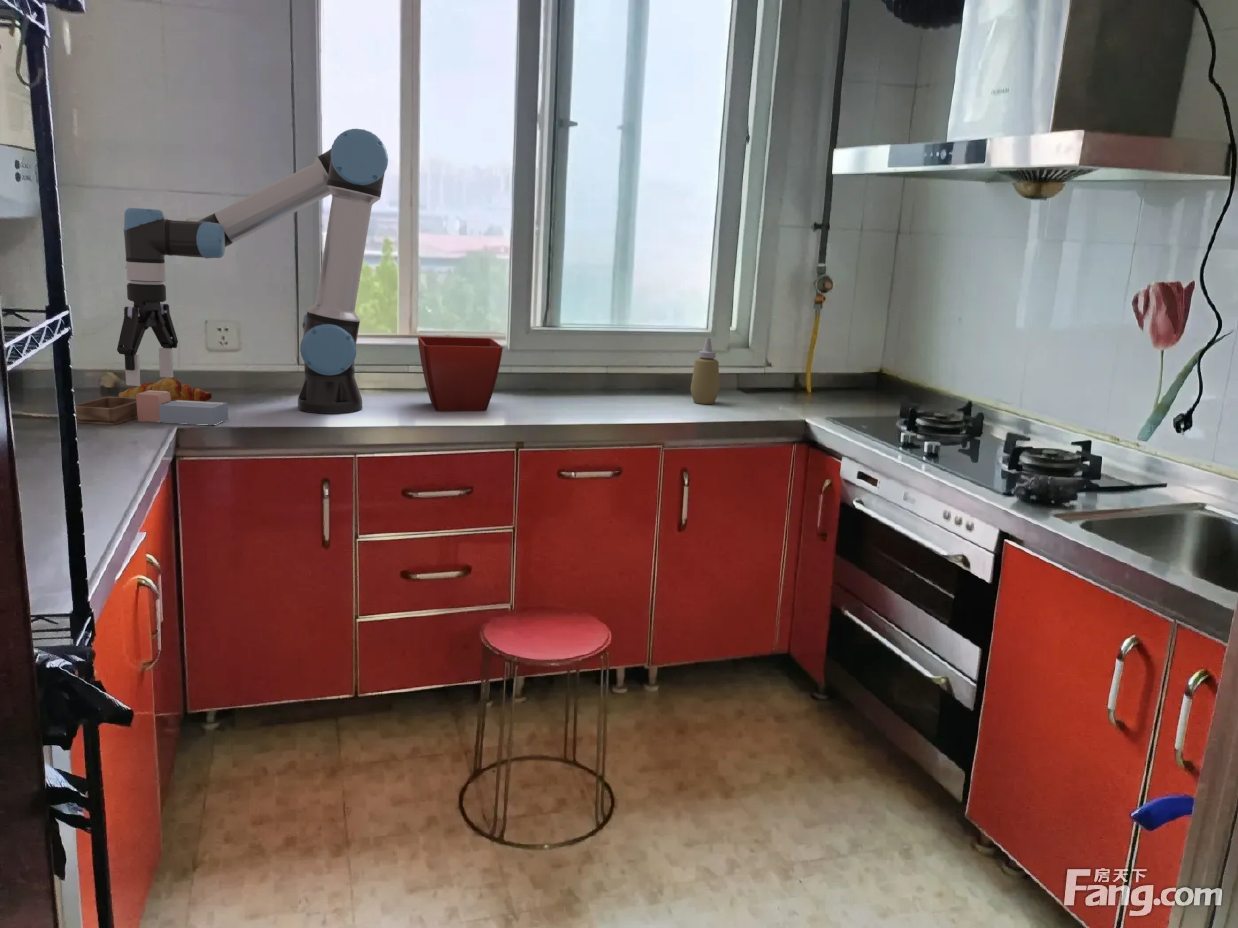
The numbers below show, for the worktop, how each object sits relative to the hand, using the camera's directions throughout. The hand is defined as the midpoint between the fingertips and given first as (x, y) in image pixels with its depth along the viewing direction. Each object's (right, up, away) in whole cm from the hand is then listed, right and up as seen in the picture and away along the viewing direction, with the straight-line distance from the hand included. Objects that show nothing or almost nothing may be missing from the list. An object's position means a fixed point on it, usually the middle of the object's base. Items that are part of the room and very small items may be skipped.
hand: (150, 381), depth 212 cm
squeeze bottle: (+126, -1, +60) cm, 140 cm away
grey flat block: (+9, -9, +2) cm, 13 cm away
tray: (-9, -8, +2) cm, 12 cm away
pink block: (0, -8, +2) cm, 9 cm away
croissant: (-6, -4, +21) cm, 22 cm away
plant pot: (+62, -4, +35) cm, 71 cm away
